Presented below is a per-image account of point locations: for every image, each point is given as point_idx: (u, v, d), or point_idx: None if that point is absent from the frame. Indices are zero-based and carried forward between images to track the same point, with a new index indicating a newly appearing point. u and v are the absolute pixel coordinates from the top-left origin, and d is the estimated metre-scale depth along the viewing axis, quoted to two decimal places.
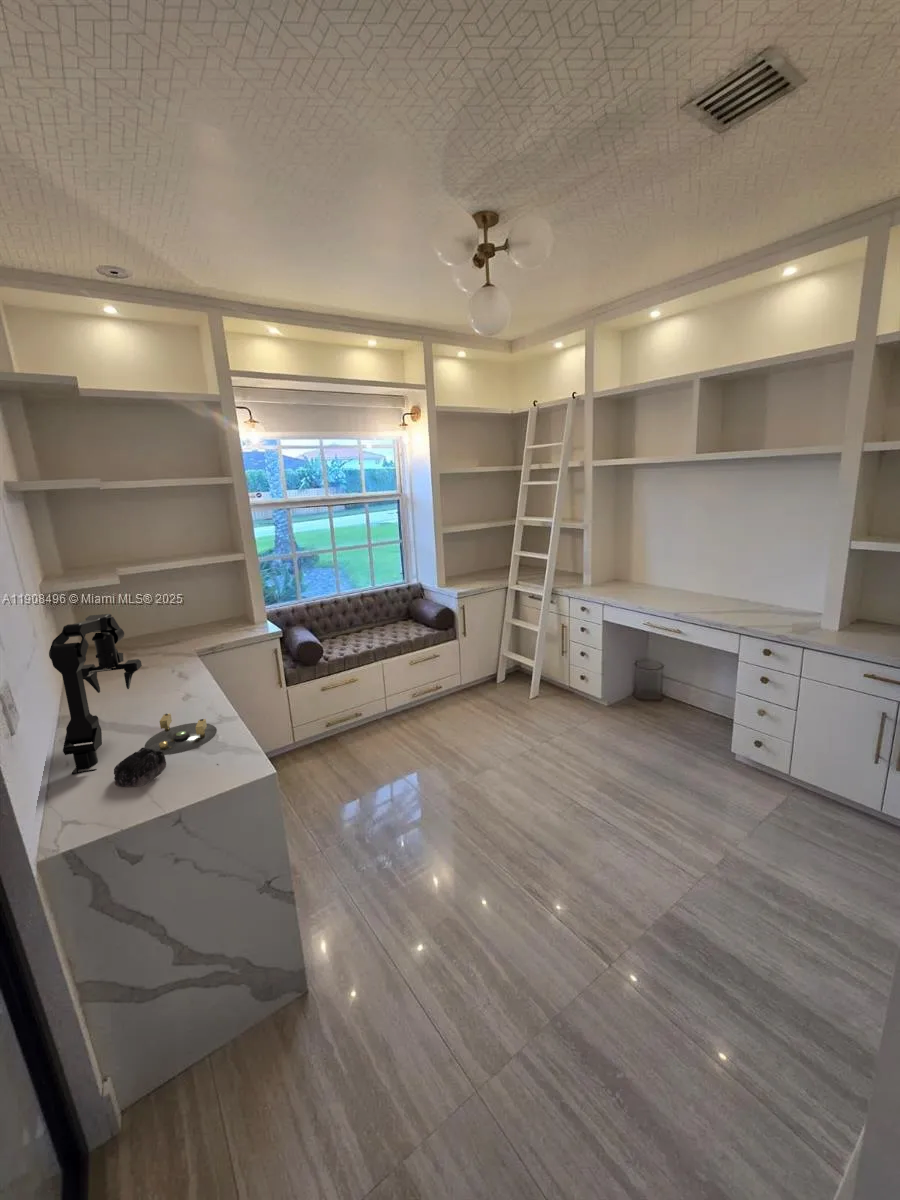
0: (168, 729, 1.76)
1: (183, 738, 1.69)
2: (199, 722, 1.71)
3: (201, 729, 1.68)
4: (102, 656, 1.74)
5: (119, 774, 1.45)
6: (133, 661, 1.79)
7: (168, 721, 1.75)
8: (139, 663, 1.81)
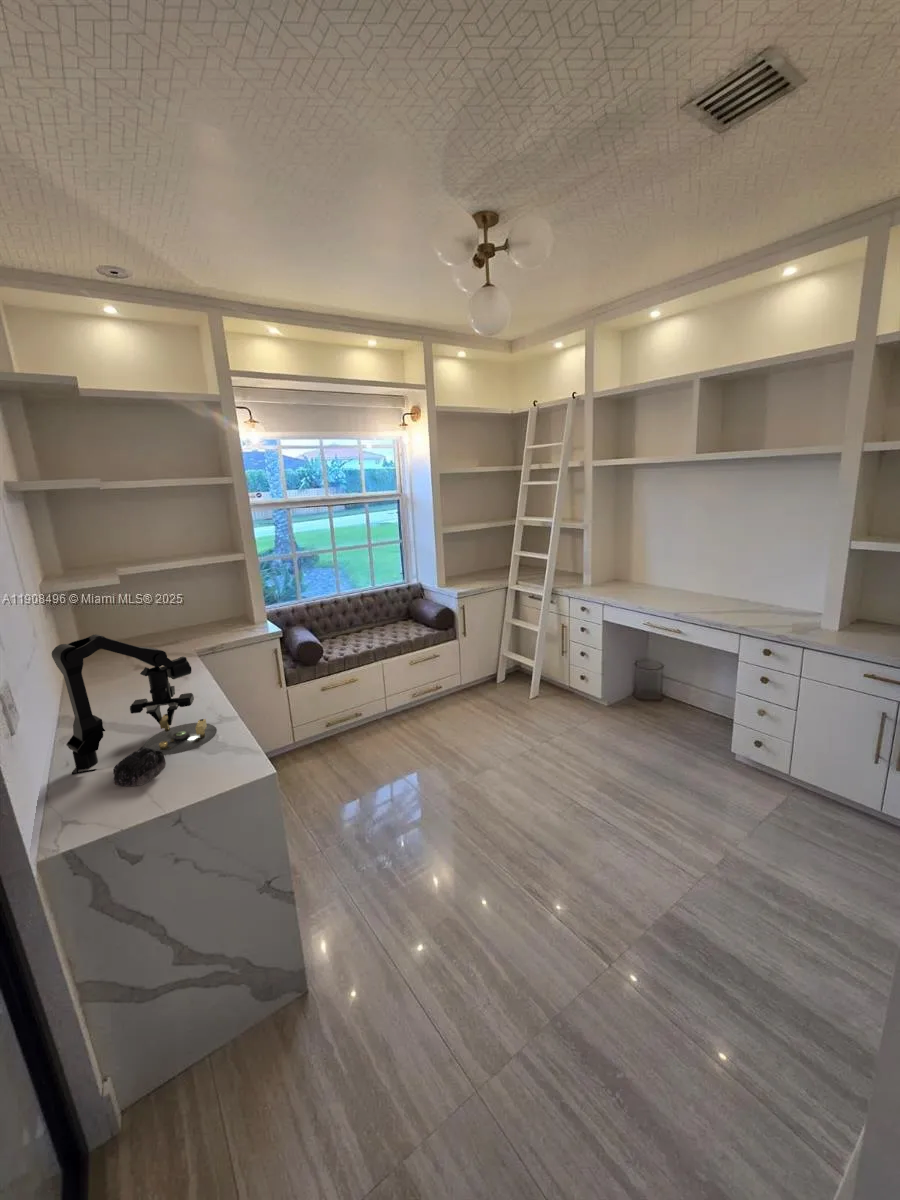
0: (168, 729, 1.76)
1: (183, 738, 1.69)
2: (199, 722, 1.71)
3: (201, 729, 1.68)
4: (156, 691, 1.70)
5: (119, 774, 1.45)
6: (186, 696, 1.75)
7: (168, 721, 1.75)
8: (192, 697, 1.77)
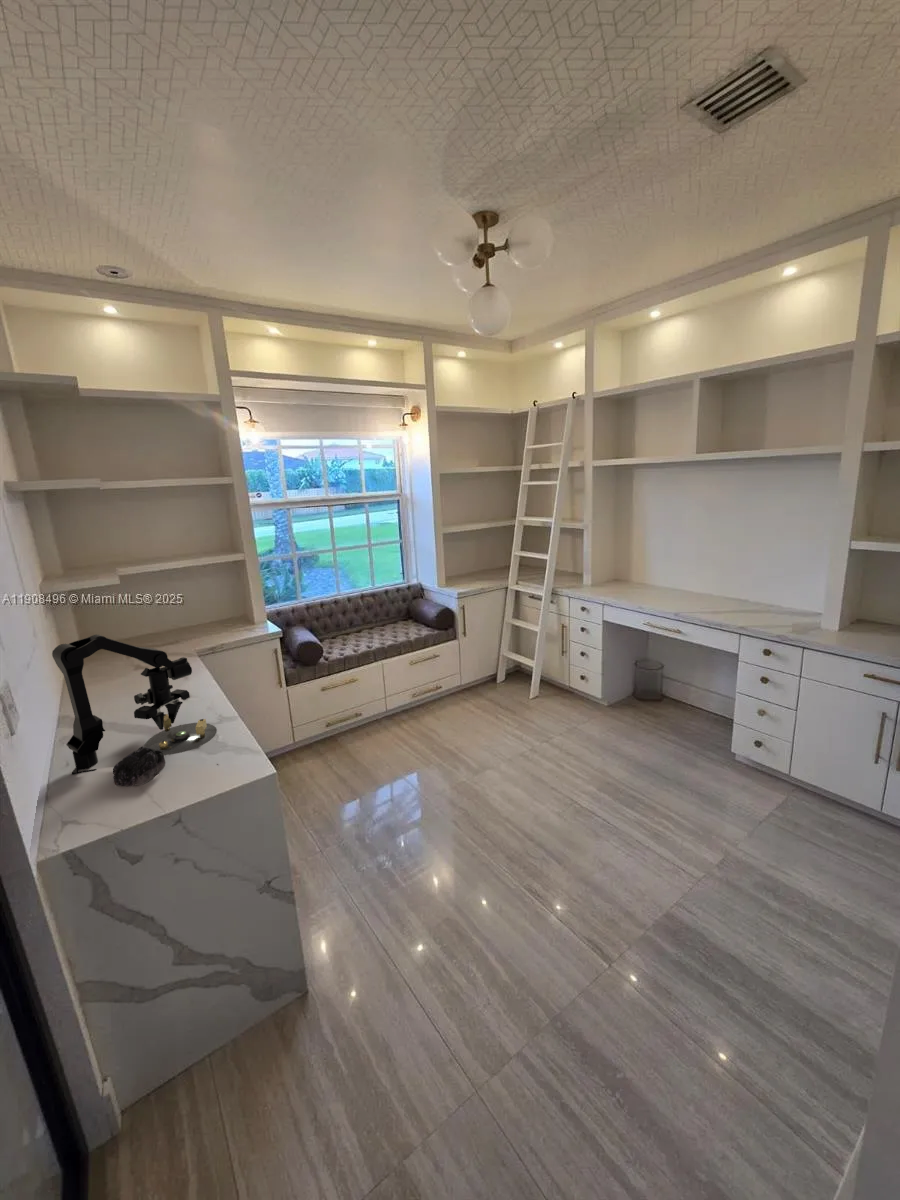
0: (169, 729, 1.76)
1: (183, 738, 1.69)
2: (199, 722, 1.71)
3: (201, 729, 1.68)
4: (165, 689, 1.71)
5: (118, 773, 1.46)
6: (180, 690, 1.81)
7: None
8: None
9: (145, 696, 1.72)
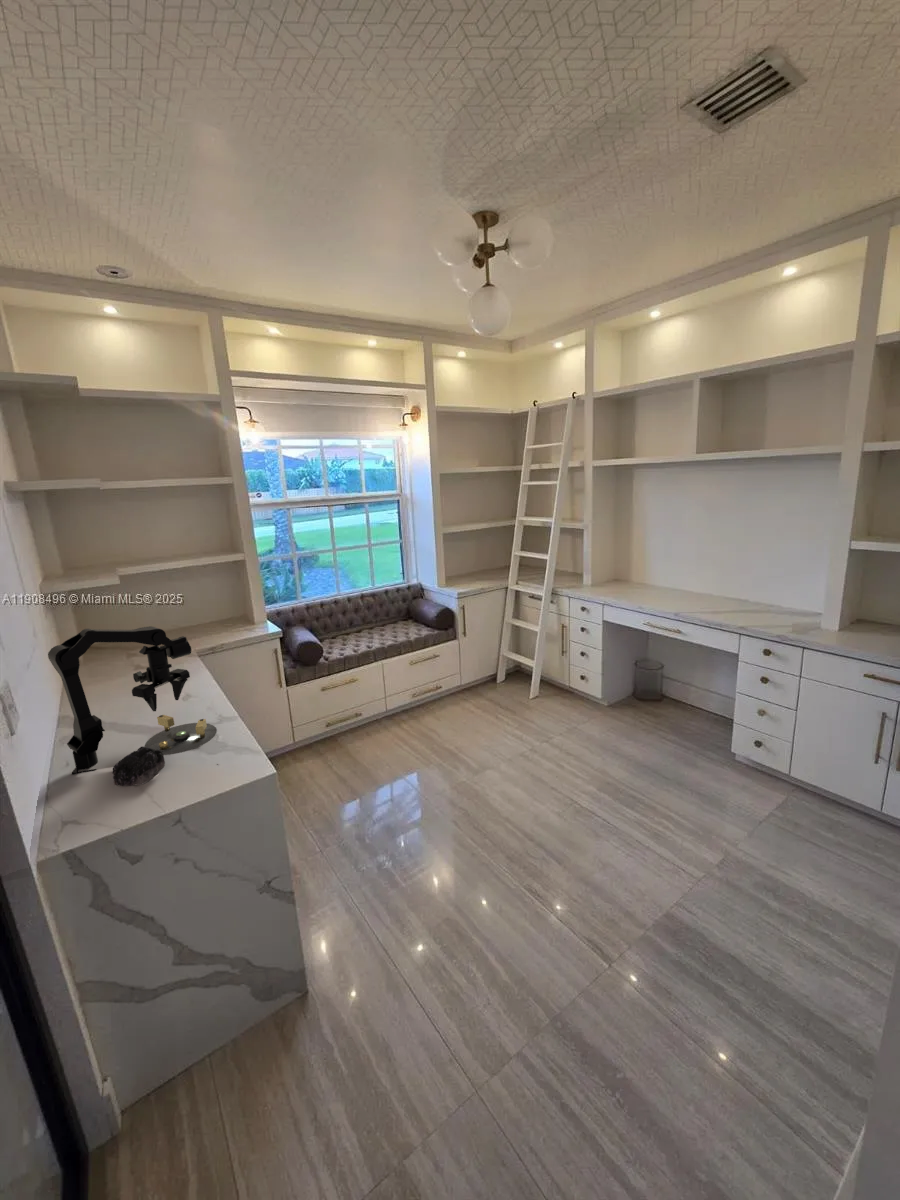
0: (169, 728, 1.77)
1: (183, 738, 1.69)
2: (199, 722, 1.71)
3: (201, 729, 1.68)
4: (164, 668, 1.69)
5: (118, 773, 1.46)
6: (180, 670, 1.79)
7: None
8: None
9: (144, 674, 1.70)
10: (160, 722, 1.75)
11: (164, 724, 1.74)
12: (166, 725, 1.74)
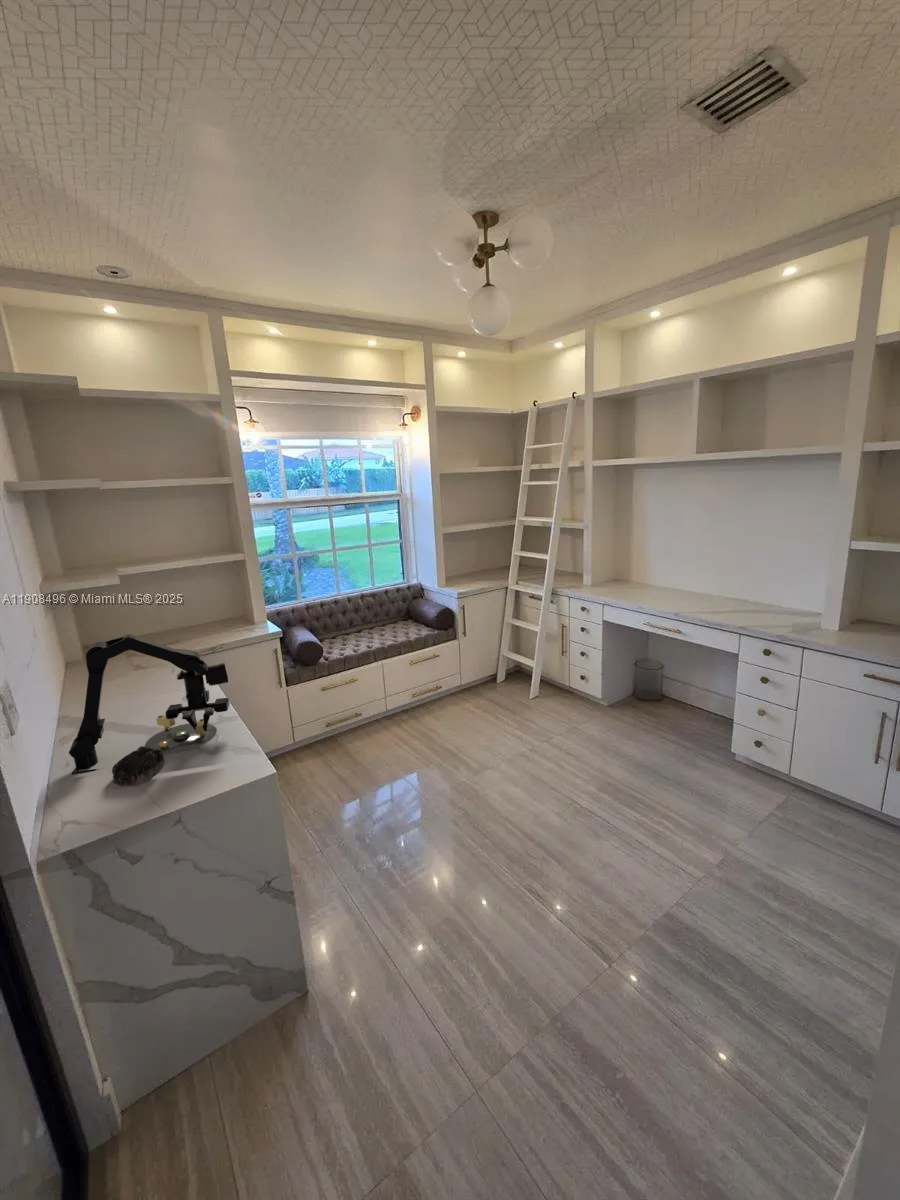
0: (169, 728, 1.77)
1: (183, 738, 1.69)
2: (199, 722, 1.71)
3: (201, 729, 1.68)
4: (192, 696, 1.65)
5: (118, 773, 1.46)
6: (222, 701, 1.70)
7: None
8: (228, 702, 1.72)
9: None
10: (160, 723, 1.75)
11: (165, 724, 1.75)
12: (167, 725, 1.74)
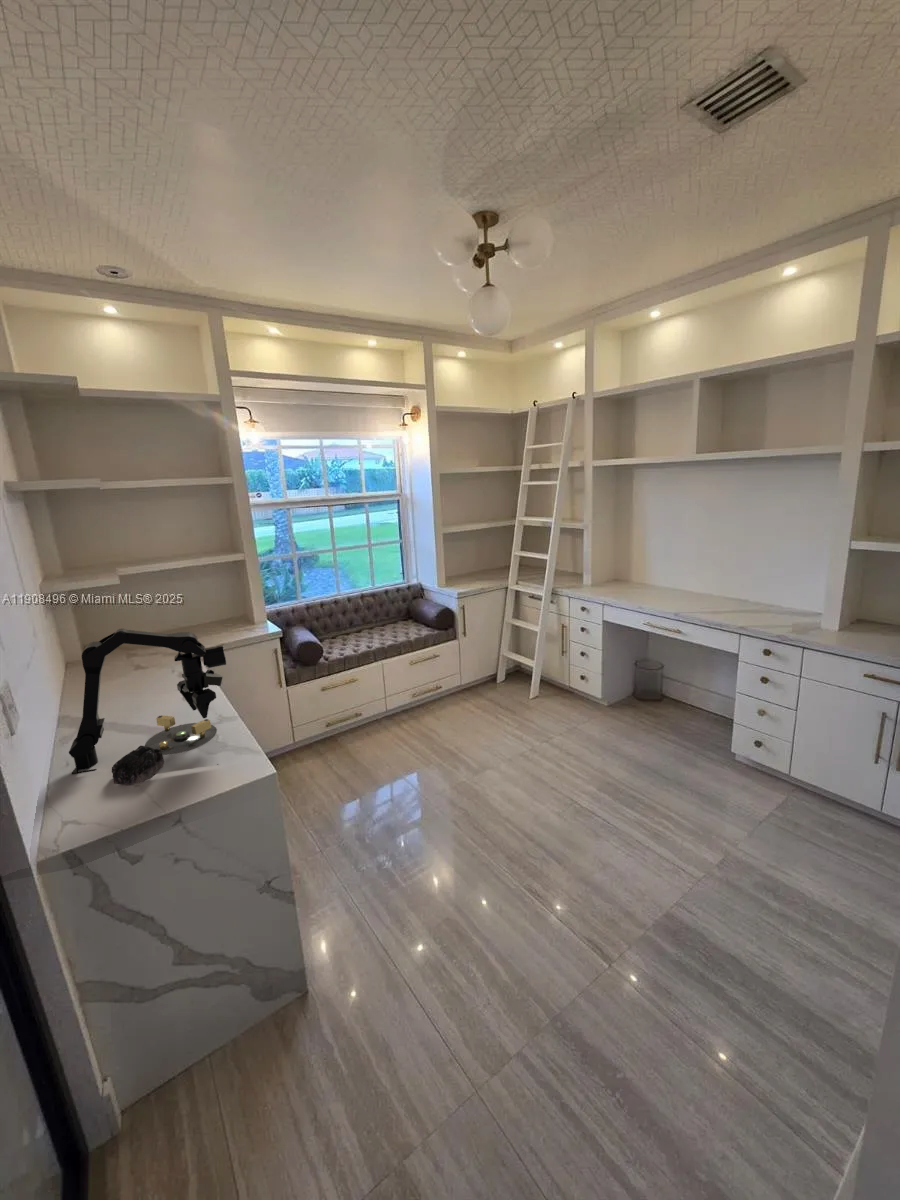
0: (169, 728, 1.77)
1: (183, 738, 1.69)
2: (201, 722, 1.71)
3: (194, 729, 1.68)
4: (183, 677, 1.65)
5: (117, 772, 1.46)
6: (202, 692, 1.61)
7: None
8: (208, 696, 1.62)
9: None
10: (160, 723, 1.75)
11: (165, 724, 1.75)
12: (167, 725, 1.74)
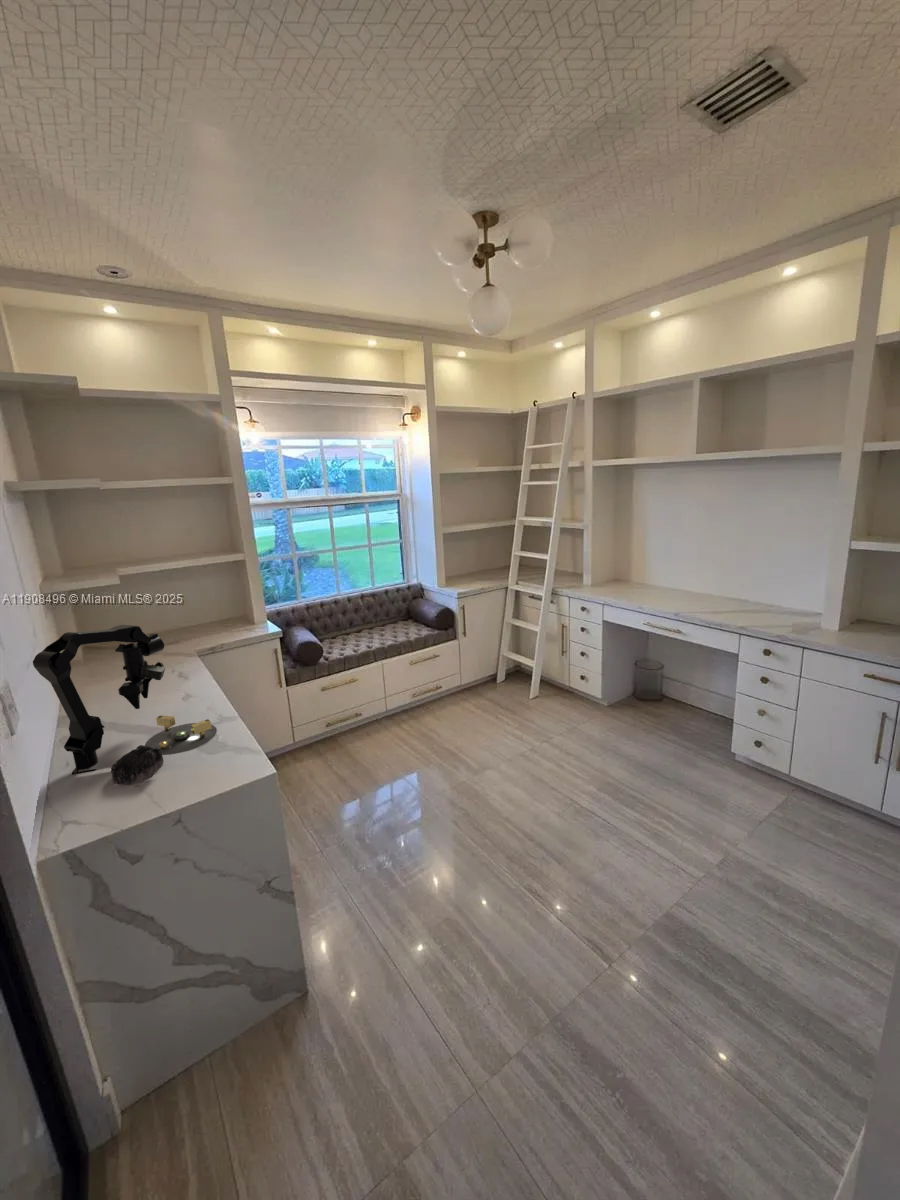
0: (169, 728, 1.77)
1: (183, 738, 1.69)
2: (201, 722, 1.71)
3: (193, 729, 1.68)
4: None
5: (117, 772, 1.46)
6: (127, 684, 1.64)
7: None
8: (130, 689, 1.64)
9: None
10: (160, 723, 1.75)
11: (165, 724, 1.75)
12: (167, 725, 1.74)
